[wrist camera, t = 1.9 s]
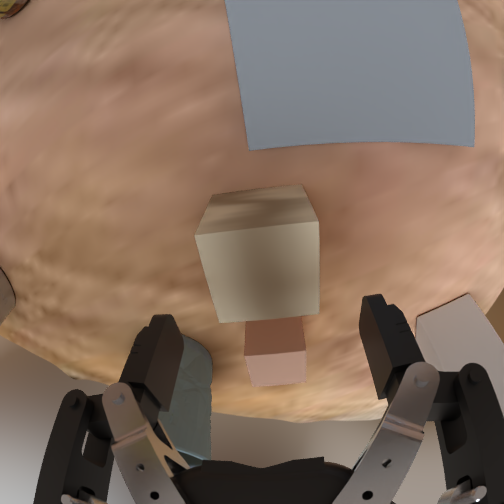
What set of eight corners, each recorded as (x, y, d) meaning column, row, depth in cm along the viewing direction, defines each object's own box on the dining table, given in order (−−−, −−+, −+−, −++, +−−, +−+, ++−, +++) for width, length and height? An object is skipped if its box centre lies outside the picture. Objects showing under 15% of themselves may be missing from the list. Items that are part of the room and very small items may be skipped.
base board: (250, 145, 16) (249, 150, 15) (216, -56, 8) (212, -69, 7) (458, 141, 15) (474, 147, 13) (428, -37, 7) (441, -44, 5)
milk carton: (413, 352, 27) (458, 489, 11) (416, 315, 24) (482, 480, 8) (460, 331, 26) (515, 454, 10) (468, 291, 22) (546, 432, 6)
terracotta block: (253, 344, 26) (252, 386, 22) (246, 311, 24) (244, 356, 19) (300, 339, 26) (306, 382, 21) (299, 305, 23) (306, 350, 19)
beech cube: (228, 267, 21) (219, 323, 16) (212, 194, 18) (194, 235, 13) (305, 259, 21) (319, 313, 16) (301, 183, 18) (318, 221, 13)
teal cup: (127, 316, 25) (83, 420, 14) (227, 336, 25) (215, 455, 15) (138, 371, 30) (113, 454, 20) (217, 387, 31) (208, 476, 20)
